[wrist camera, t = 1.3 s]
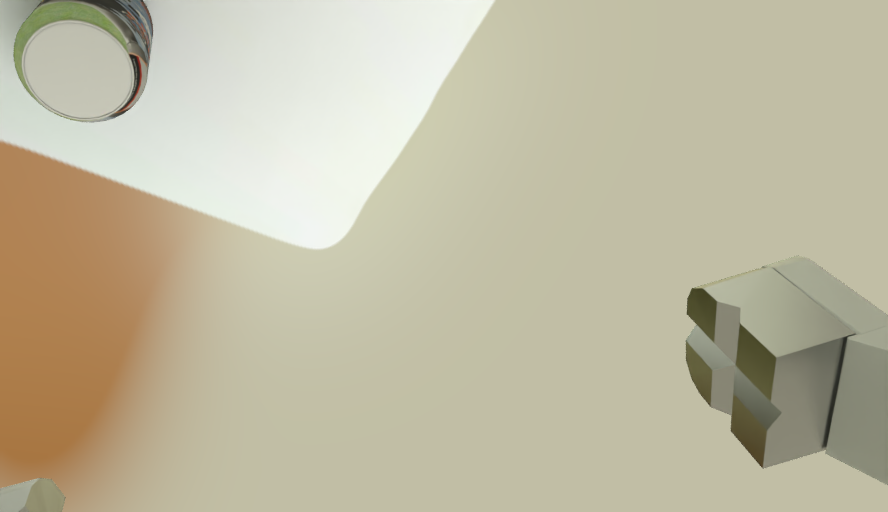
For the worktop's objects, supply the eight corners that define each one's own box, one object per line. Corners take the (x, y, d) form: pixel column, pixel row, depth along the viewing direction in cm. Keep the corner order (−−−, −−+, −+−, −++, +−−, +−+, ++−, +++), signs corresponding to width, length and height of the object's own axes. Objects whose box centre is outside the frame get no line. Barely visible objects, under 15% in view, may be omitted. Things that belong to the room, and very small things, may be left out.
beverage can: (127, 80, 46) (146, 164, 38) (2, 29, 42) (-10, 110, 33) (167, -5, 44) (197, 63, 36) (40, -69, 40) (39, -9, 31)
